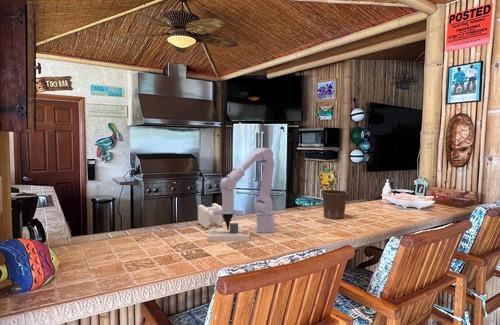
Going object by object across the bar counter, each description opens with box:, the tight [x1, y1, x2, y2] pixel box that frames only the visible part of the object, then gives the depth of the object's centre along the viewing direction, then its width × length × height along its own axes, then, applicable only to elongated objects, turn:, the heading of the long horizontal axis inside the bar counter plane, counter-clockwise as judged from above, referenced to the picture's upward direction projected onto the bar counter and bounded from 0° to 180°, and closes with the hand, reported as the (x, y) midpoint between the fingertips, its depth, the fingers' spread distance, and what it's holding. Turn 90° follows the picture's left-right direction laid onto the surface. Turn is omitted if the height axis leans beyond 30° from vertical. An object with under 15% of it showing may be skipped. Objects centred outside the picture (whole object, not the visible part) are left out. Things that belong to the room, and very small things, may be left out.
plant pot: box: [321, 189, 349, 220], centre depth 197 cm, size 16×16×16 cm
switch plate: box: [207, 228, 251, 242], centre depth 156 cm, size 20×12×2 cm, turn 89°
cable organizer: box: [197, 202, 223, 229], centre depth 178 cm, size 15×11×12 cm
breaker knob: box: [229, 222, 239, 233], centre depth 156 cm, size 4×3×4 cm
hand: (228, 229), depth 156 cm, fingers closed
